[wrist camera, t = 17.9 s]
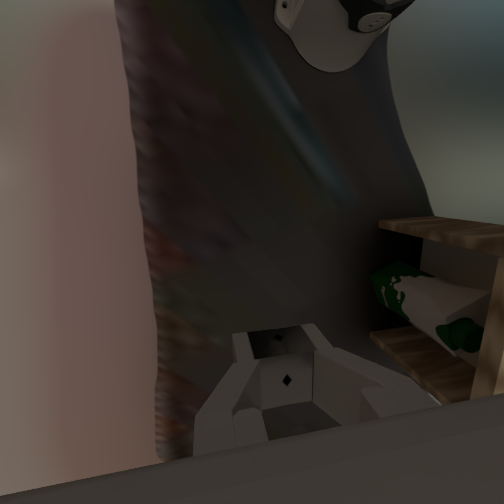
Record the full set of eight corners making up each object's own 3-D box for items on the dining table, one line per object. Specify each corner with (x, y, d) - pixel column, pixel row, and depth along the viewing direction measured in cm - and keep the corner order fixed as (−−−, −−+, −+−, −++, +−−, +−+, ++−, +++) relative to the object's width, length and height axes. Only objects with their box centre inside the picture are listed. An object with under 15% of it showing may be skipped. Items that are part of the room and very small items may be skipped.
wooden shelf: (350, 222, 49) (523, 263, 23) (432, 216, 52) (672, 246, 25) (344, 341, 56) (472, 483, 29) (417, 330, 59) (595, 450, 32)
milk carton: (363, 273, 53) (454, 323, 33) (401, 253, 53) (513, 291, 34) (376, 307, 55) (466, 371, 36) (412, 288, 56) (520, 341, 36)
